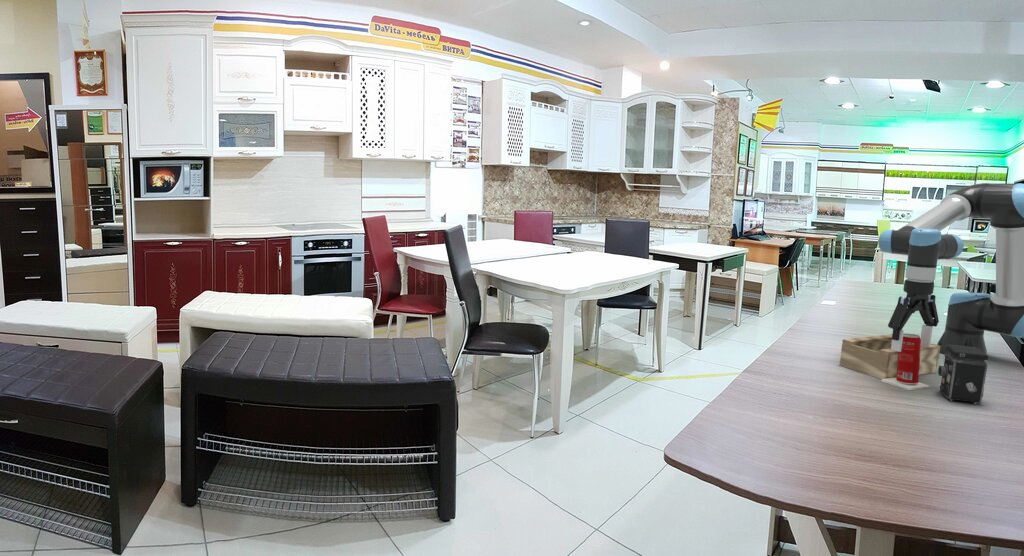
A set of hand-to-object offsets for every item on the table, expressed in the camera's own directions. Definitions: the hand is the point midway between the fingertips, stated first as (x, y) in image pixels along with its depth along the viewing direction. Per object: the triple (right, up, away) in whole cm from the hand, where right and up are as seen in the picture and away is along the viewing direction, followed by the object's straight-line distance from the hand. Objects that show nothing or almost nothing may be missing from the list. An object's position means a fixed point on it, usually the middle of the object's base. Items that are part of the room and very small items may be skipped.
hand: (910, 348), depth 185 cm
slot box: (+4, -9, +18) cm, 20 cm away
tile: (-1, -11, +2) cm, 11 cm away
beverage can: (0, -11, +2) cm, 11 cm away
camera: (+8, -14, -9) cm, 18 cm away
